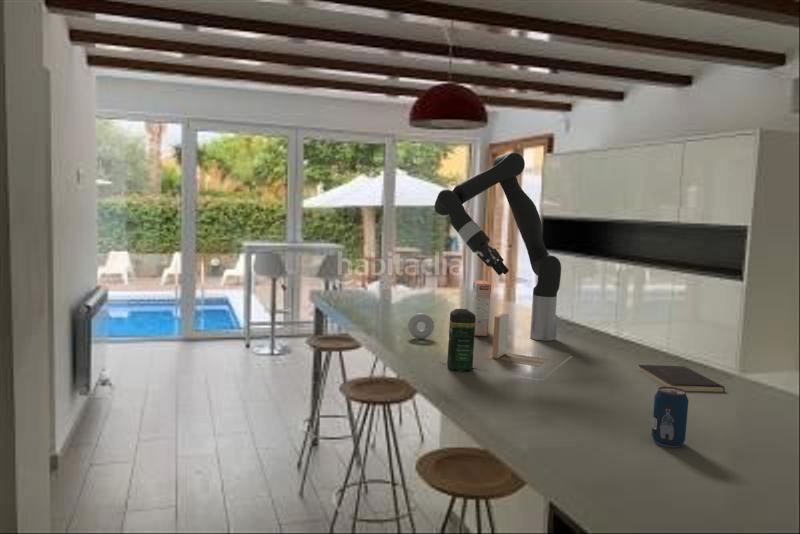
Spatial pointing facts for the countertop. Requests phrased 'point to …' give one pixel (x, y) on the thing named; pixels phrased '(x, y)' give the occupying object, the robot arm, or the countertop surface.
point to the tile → (500, 335)
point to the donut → (416, 319)
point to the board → (520, 359)
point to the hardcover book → (681, 378)
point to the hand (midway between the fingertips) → (504, 273)
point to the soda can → (670, 416)
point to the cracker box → (481, 306)
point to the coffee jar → (461, 340)
